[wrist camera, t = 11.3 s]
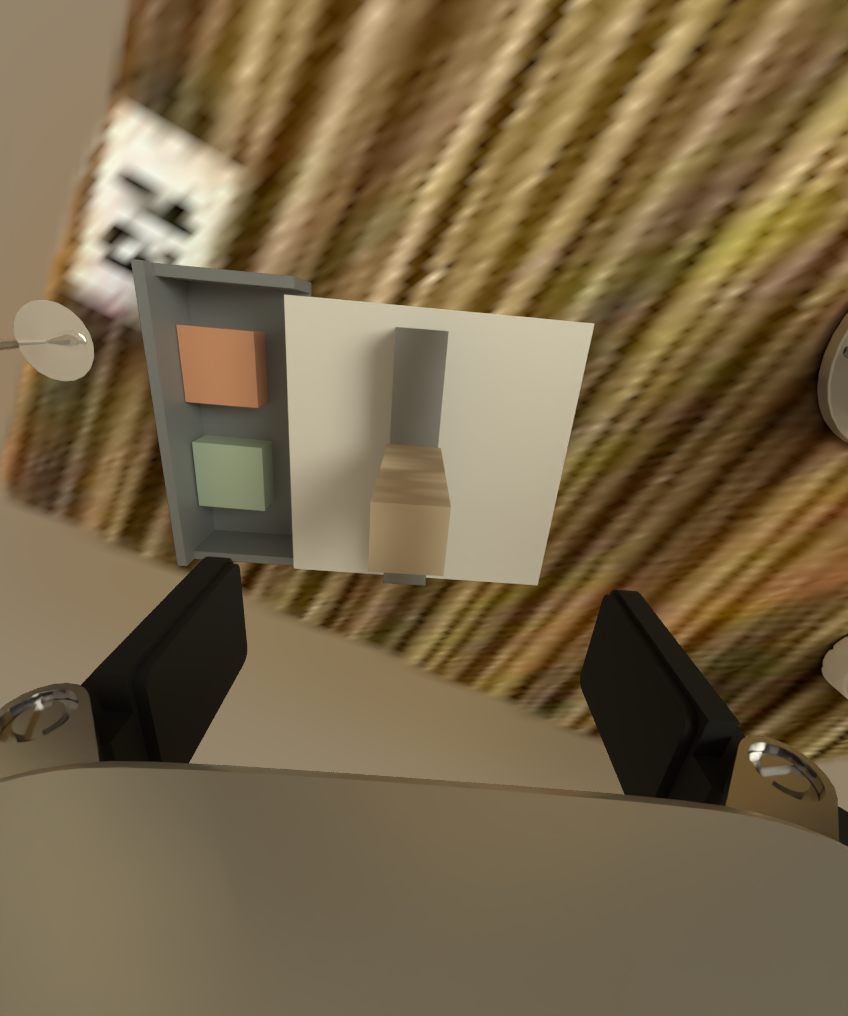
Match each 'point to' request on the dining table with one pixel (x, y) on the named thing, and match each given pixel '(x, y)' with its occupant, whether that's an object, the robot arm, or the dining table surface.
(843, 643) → the water bottle
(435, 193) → the dining table surface
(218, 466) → the green tile
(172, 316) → the tray
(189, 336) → the terracotta tile
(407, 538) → the scraper
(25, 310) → the wineglass
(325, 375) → the white flat square block
